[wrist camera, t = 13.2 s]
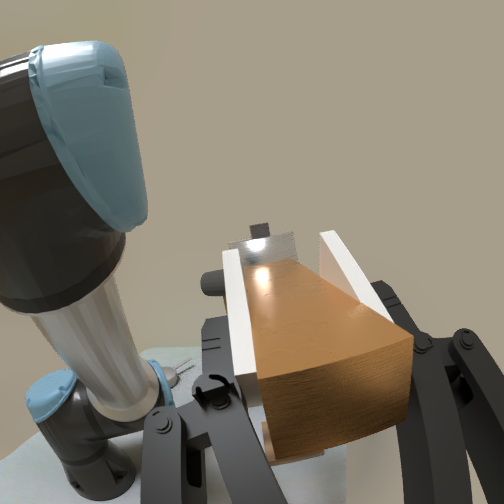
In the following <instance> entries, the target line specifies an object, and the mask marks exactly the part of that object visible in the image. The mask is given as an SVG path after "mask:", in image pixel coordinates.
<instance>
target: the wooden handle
mask: <svg viewBox="0 0 504 504" xmlns="http://www.w3.org/2000/svg"><path fill="white" fill-rule="evenodd" d="M249 227H250V233H251V238H246V239H241V240H238V241H234V242H230V243H228V245H229V250H232V249H237V248H238V251H239V256H240V261H241V265H242V270H243V275H244V280H245V284H246V289H247V296H248V304H249V312H250V320H251V332H252V340H253V348H254V356H255V363H256V371H257V379H258V384H259V388H260V393H261V397H262V402H263V406H264V411H265V415H266V420H267V424H268V429H269V433H270V437H271V442H272V446H273V450H274V454H275V459H276V460H281V459H286V458H291V457H296V456H300V455H305V454H309V453H313V452H317V451H321V450H324V449H328V448H332V447H335V446H338V445H342V444H345V443H348V442H351V441H354V440H357V439H360V438H363V437H366V436H369V435H371V434H374V433H377V432H379V431H382V430H384V429H387V428H389V427H392V426H394V425H397V424H399V423H401V422H403V421H406V414H407V408H408V400H409V392H410V383H411V373H412V360H413V340H414V336H413V335H411V334H410V333H408V332H407V331H405V330H404V329H402V328H401V327H399V326H397V325H396V324H394V323H393V322H391V321H390V320H388V319H387V318H385V317H384V316H382V315H380V314H379V313H377V312H376V311H374V310H373V309H371V308H370V307H368V306H366V305H365V304H363V303H360V302H359V301H357V300H356V299H354V298H353V297H351V296H350V295H348V294H346V293H345V292H343V291H342V290H340V289H339V288H337V287H336V286H334V285H332V284H331V283H329V282H328V281H326V280H325V279H323V278H321V277H320V276H319V275H317V274H316V273H314V272H312V271H311V270H309V269H308V268H306V267H305V266H303V265H301V264H300V263H298V258H297V251H296V245H295V240H294V233H293V232H292V231H291V232H281V233H274V234H270V232H269V226H268V223H263V224H257V225H252V226H249Z"/></svg>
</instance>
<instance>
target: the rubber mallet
mask: <svg viewBox="0 0 504 504" xmlns="http://www.w3.org/2000/svg"><path fill="white" fill-rule="evenodd" d="M201 289H202V291H203V293H204V294H205V295H207V296H223V298H224V304H225V308H226V313H227V315H228V311H227V301H226V290H225V279H224V269H222V270H217V271H211V272H207V273H204V274H203V275H202V277H201Z"/></svg>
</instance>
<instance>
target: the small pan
mask: <svg viewBox="0 0 504 504" xmlns="http://www.w3.org/2000/svg"><path fill="white" fill-rule="evenodd" d="M190 360H191V358H187V359H186V360H184V361H183V362H181V363H179V364H178V365H176V366H174V367H173V368H172V367H161V368H162V370H163V372H164V374H165V376H166V379H167V381H168V384H169V386H170V388H172V387H173V386H174V385H175V383H176V380H177V373H176V370H175V369H177V368H178V367H180V366H182V365H183V364H185V363H186V362H188V361H190Z"/></svg>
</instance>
